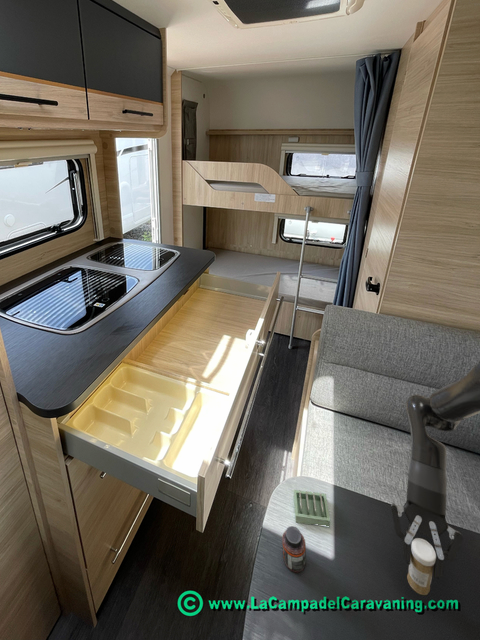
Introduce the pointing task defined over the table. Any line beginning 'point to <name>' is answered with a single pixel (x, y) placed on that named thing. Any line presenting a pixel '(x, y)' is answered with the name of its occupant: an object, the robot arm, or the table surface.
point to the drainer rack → (313, 504)
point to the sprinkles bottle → (421, 566)
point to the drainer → (311, 509)
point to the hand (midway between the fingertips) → (422, 569)
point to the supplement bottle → (294, 549)
